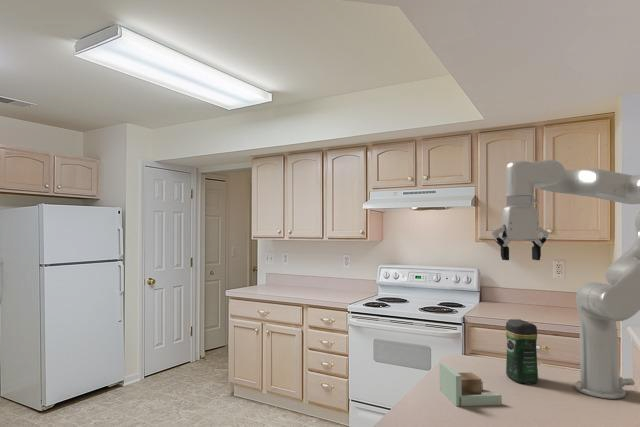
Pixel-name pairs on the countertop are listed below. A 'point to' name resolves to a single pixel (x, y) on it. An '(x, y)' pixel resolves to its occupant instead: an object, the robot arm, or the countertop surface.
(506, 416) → the countertop surface
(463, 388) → the walnut block
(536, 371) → the coffee jar
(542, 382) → the countertop surface
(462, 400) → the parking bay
